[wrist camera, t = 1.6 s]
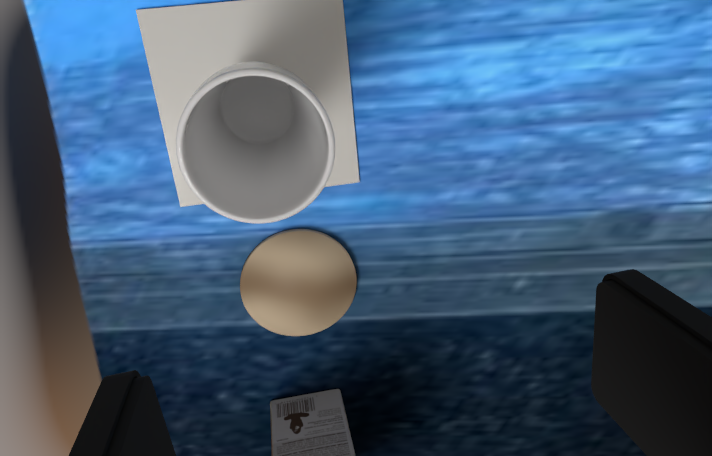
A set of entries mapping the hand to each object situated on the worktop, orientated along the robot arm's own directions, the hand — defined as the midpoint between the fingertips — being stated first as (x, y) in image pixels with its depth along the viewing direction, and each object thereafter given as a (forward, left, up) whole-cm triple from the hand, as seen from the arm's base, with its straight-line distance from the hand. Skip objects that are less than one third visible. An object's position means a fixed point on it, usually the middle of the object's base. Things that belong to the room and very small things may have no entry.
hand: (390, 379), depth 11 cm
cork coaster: (+12, -1, -29) cm, 31 cm away
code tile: (-2, -2, -29) cm, 29 cm away
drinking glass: (-2, -2, -29) cm, 29 cm away
